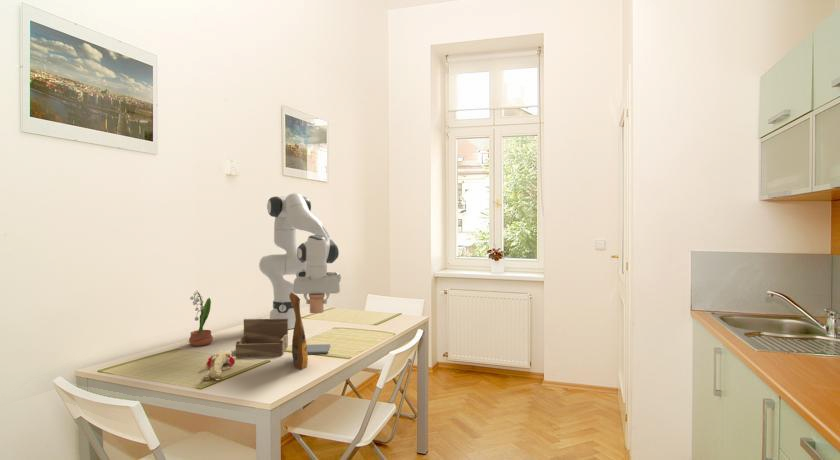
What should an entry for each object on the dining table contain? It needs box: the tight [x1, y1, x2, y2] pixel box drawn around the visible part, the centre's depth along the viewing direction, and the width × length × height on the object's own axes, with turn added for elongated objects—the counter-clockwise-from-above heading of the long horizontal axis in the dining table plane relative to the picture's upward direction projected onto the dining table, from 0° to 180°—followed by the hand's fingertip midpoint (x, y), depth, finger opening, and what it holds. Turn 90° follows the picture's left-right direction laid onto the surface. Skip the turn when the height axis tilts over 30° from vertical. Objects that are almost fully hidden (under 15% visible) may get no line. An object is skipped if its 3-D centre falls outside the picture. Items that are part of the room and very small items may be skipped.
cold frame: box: [235, 318, 289, 358], centre depth 204 cm, size 14×19×13 cm
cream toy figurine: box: [202, 350, 237, 381], centre depth 178 cm, size 10×9×25 cm
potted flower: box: [188, 290, 214, 347], centre depth 214 cm, size 12×10×25 cm
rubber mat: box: [307, 343, 331, 355], centre depth 207 cm, size 12×11×1 cm
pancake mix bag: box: [289, 292, 309, 370], centre depth 187 cm, size 7×19×28 cm, turn 17°
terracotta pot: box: [308, 294, 326, 314], centre depth 206 cm, size 7×7×8 cm
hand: (316, 303), depth 206 cm, fingers closed on terracotta pot, 6 cm apart
